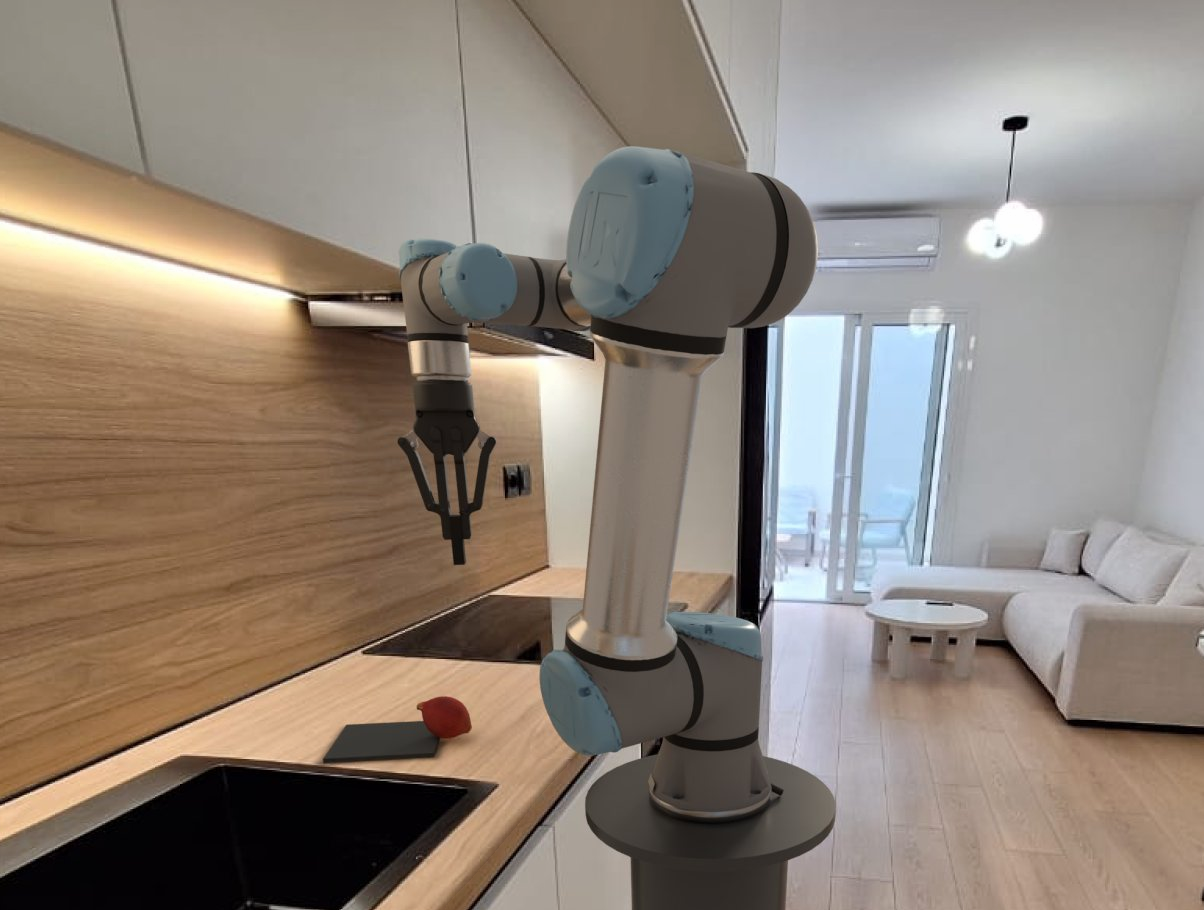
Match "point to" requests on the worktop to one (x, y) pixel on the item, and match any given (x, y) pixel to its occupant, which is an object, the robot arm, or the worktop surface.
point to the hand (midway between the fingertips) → (459, 563)
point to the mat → (383, 742)
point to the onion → (445, 717)
